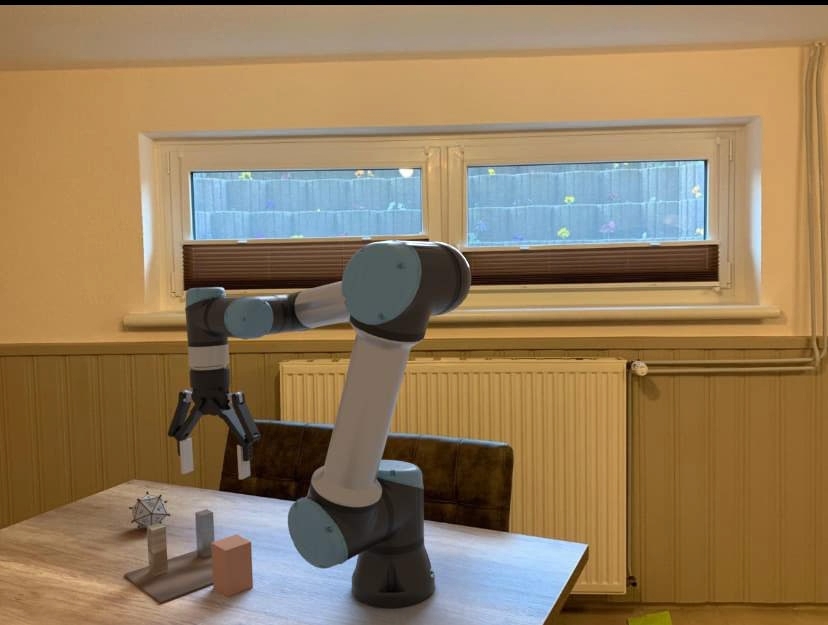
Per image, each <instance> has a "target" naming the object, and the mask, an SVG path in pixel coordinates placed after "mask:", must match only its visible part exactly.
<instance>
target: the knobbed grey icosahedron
mask: <svg viewBox="0 0 828 625" xmlns="http://www.w3.org/2000/svg"><path fill="white" fill-rule="evenodd" d="M162 496H163V495H162V494H159V495H158V496H157V495H152V494H149V491H148V490H146V494H145V495H144V496H143V497H142V498H136V501H137V502H136V503H135V504H134V505H133V506H132V507H131V506H128V510H131V511H132V516H133V519H131V522H130V523H132V524H133V523H136V524H137V529H140V528H141V527H143V528H144V529H145V528H146V529H147V527H148V526H151V525H155V524H158V523H161V524H162V525H163V520H164V519H165V518H166V517H170V516H171V513H168V512H167V511H168V510H167V507H166V504H167V503H168V500H163V499H162Z"/></svg>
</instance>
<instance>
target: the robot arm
mask: <svg viewBox="0 0 828 625" xmlns="http://www.w3.org/2000/svg"><path fill="white" fill-rule="evenodd" d="M471 285H472V273H471V268H470V265H469V263H468V261H467V259H466V258H465V256H464V255H463V254H462V253H461V251H459V250H458V249H457V248H456V247H453V245H450V244H447V243H445V242H440V241H409V240H398V239H388V240H383V241H376V242H375V241H374V242H371V243H368V244H366V245H363V247H362V248H361V247H360V249H358V250H356V252H354V254H352V256H351V258H350V259H349V261H348V262H347V264H346V266H345V269H344V272H343V273H342V279H341V281H336V282H333V283H329V284H324V285H320V286H316V287H312V288H308V289H305V290H300V291H295V292H292V293H285V294H274V295H273V294H270V295H256V296H255V295H254V296H237V297H236V296H234V297H227V294H226V290H225V288H224V287H222V286H213V287H192V288H189V289H187V291H186V292H185V307H184V311H185V322H186V325H185V326H186V334H187V336H186V338H187V345H188V346H187V352H188V354H187V355H188V356H187V357H188V367H190V368H191V369H190V370H189V372H188V373H189V374H188V375H189V386H190V389H185V390H183V391H179V392H178V401H177V405H176V408H175V411H174V413H173V417H172V420H171V421H170V425H169V427H168V431H167V436H168V437H169V438H174V439H175V440H176V443H177V444H176V447H177V454H178V456H179V457H180V470H181V471H180V473H181V475H185V474H188V473H191V472H193V471H194V470H195V469H194V468H195V467H194V454H193V453H194V452H193V438H191V435H190V434H191V433H192V431H193V430H194V429H195V426H196V425H197V424H198V422H199V421H200V419H201V418H202V417H203V416H207V415H210V416H214V417H216V416H218V417H219V418H220V419H222V420H223V422H224V423H225V425H226V426H227V427H228V428H229V430H230V431H231V432H232V434H233V435H234V436H235V438H236V439H237V441H238V442H239V444H237V445H236V447H237V448H236V451H237V453H236V455H237V469H238V470H237V471H238V472H237V473H238V480H244V479H246V478H248V477H251V464H250V463H251V461H252V460H253V443H254V442H256V441H259V440H260V439H261V438H262V435H261V433H260V431H259V429H258V426H257V424H256V422H255V420H254V417H253V416H252V414H251V411H250V409H249V407H248V405H247V403H246V397H245V393H244V392H243V391H238V392H233V393H232V392H231V391H230V385H231V369H230V367H229V366H227V365H228V364H230V354H229V353H230V352H229V350H230V349H229V338H233V339H234V338H235V339H242V340H251V339H259V338H262V337H264V336H268V335H269V336H270V335H276V334H283V333H292V332H293V333H294V332H295V333H296V332H306V331H309V330H312V329H315V328H317V327H323V326H330V325H334V324H339V323H345V322H349V324H350V326H351V327H352V329H353V330H354V332H355V338H354V342H353V346H352V349H351V354H350V357H349V358H350V359H349V363H348V367H347V371H346V374H345V380H344V382H343V384H344V385H343V387H342V390H341V391H342V392H341V395H340V400H339V404H338V407H337V411H336V412H337V413H336V417H335V420H334V424H333V429H332V432H331V438H330V442H329V446H328V450H327V453H326V457H325V462H324V465H322V466H321V467H319V468H317V469H316V470H315V471H314V472H313V474H312V476H311V478H310V479H311V480H310V484H309V488H308V492H307V494H306V496H305V497H300V498H298V499H297V500H296V501H295V502H293V503H292V504H291V506H290V507H289V510H288V514H287V529H288V533H289V536H290V539H291V541H292V542H293V546H294V547H295V549H296V551H297V552H298V554H299V555H300V556H301V557H302V558H303V560H304V561H306V562H307V563H308V564H309V565H311V566H312V567H315V568H319V569H325V570H326V569H331V568H333V567H335V566H338V565H343V564H344V563H345V562H347V561H348V560H350V559H352V558H354V557H356V556H357V559H356V563H355V564H356V565H355V569H353V572H352V575H351V592H352V595H353V596H354V597H355V598H356V599H357V600H358V601H360V602H361V603H363V604H364V605H365V604H366V605H368V606H372V607H378V608H386V609H387V608H388V609H390V608H391V609H394V608H402V607H409V606H412V605H416V604H418V603H421V602H423V601H425V600H427V599H428V598H430V596H432V594H433V593H434V591H435V589H436V584H435V583H436V582H435V581H436V578H435V577H436V576H435V572H434V568H433V567H432V565H431V561H430V558H429V555H428V551H427V548H426V546H425V524H424V522H425V519H424V518H425V516H424V515H425V514H424V512H425V511H424V489H425V486H424V483H423V481H424V480H423V473H422V470H421V469H420V467H419V466H418V465H415V464H414V463H411V462H406V461H401V460H396V459H395V460H394V459H382V457H383V455H384V451H385V448H386V443H387V439H388V435H389V432H390V428H391V425H392V420H393V417H394V413H395V409H396V406H397V402H398V398H399V395H400V390H401V388H402V387H401V386H402V383H403V380H404V376H405V372H406V368H407V364H408V361H409V357H410V353H411V349H412V347H414V346H416V345H418V344H420V343H422V342H423V341H424V339H425V336H426V332H427V329H428V324H429V320H430V318H431V317H436V316H441V315H445V314H447V313H450V312H451V313H452V312H453V311H454V310H456V309H458V308H459V307H460V305H462V304H463V302H464V301H465V300H466V298H467V296H468V294H469V292H470V289H471ZM192 402H193V404H194V405H193V406H192V408H191V404H192ZM190 408H191V409H190ZM188 413H189V414H188Z"/></svg>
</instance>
